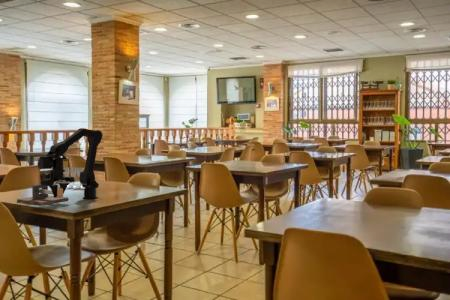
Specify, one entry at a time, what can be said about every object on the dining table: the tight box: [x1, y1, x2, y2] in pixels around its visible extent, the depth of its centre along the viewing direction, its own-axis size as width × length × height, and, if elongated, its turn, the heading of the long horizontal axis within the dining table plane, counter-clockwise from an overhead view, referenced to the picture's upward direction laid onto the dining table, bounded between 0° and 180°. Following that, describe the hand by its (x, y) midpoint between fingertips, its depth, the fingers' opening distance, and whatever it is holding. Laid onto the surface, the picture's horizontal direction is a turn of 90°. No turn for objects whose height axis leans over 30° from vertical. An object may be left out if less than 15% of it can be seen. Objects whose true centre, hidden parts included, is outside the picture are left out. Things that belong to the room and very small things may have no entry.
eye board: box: [16, 183, 69, 206], centre depth 266 cm, size 20×18×9 cm
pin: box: [39, 187, 64, 198], centre depth 264 cm, size 18×4×5 cm, turn 61°
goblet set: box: [57, 166, 85, 188], centre depth 324 cm, size 28×6×13 cm, turn 69°
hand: (58, 196), depth 260 cm, fingers closed on pin, 4 cm apart
